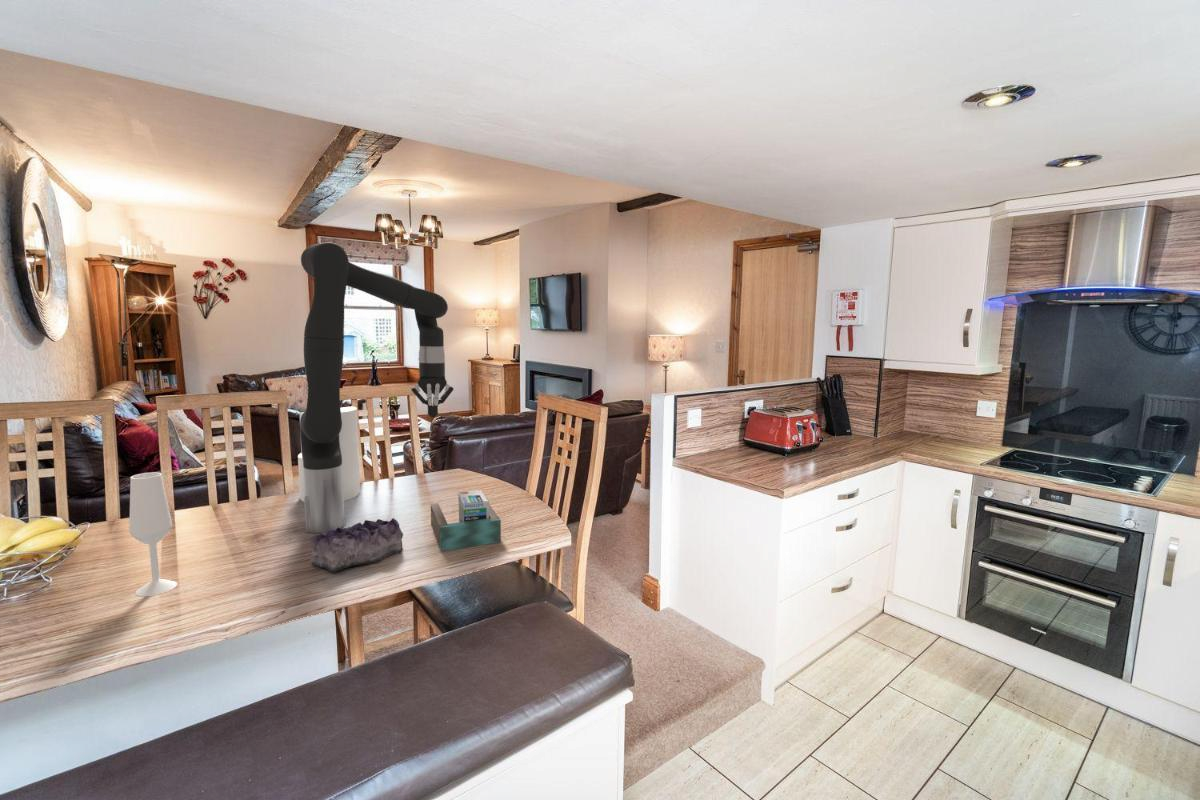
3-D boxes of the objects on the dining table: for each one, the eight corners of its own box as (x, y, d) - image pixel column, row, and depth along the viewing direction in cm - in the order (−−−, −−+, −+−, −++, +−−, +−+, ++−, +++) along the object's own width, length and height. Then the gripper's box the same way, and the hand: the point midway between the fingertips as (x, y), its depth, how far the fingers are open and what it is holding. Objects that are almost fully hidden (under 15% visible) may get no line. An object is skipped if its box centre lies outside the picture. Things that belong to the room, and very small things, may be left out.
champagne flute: (180, 588, 110) (171, 475, 107) (138, 599, 105) (126, 482, 102) (173, 577, 115) (164, 469, 112) (132, 588, 110) (121, 475, 107)
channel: (440, 550, 131) (440, 527, 131) (431, 524, 149) (430, 503, 148) (500, 542, 138) (500, 519, 137) (484, 517, 155) (484, 497, 154)
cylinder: (371, 493, 175) (368, 408, 171) (320, 507, 160) (315, 415, 156) (340, 484, 184) (336, 403, 180) (289, 496, 169) (284, 409, 165)
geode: (390, 540, 138) (393, 504, 136) (410, 560, 130) (413, 522, 128) (304, 559, 124) (305, 519, 122) (320, 583, 116) (322, 541, 114)
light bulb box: (490, 541, 138) (489, 500, 137) (463, 544, 136) (463, 503, 134) (482, 526, 148) (482, 489, 147) (457, 529, 146) (457, 491, 144)
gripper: (410, 362, 156) (411, 420, 158) (456, 361, 162) (456, 418, 164) (407, 360, 163) (409, 416, 165) (452, 360, 168) (452, 414, 171)
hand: (432, 417), depth 165 cm, fingers closed
